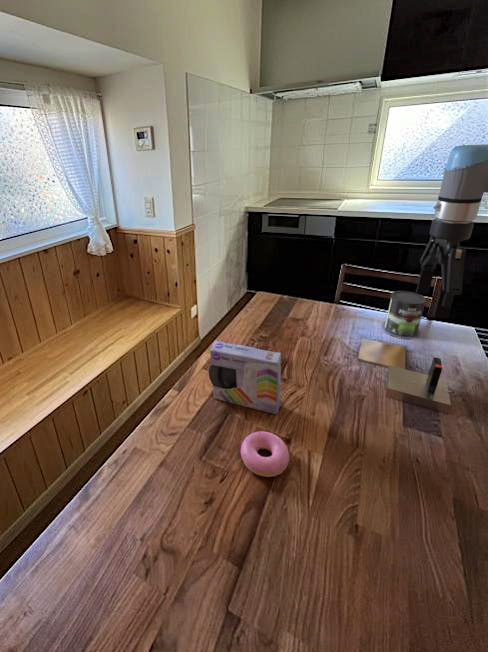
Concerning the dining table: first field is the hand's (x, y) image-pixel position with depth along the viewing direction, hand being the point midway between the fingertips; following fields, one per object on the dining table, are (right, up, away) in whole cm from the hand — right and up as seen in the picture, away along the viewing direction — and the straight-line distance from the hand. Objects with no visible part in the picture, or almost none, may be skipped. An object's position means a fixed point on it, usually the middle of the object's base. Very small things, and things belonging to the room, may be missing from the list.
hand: (430, 304), depth 84 cm
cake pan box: (-45, -28, +11) cm, 54 cm away
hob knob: (+6, -23, +8) cm, 25 cm away
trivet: (+3, -18, +26) cm, 32 cm away
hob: (+3, -25, +10) cm, 27 cm away
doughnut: (-43, -36, -6) cm, 56 cm away
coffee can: (+16, -12, +38) cm, 43 cm away
